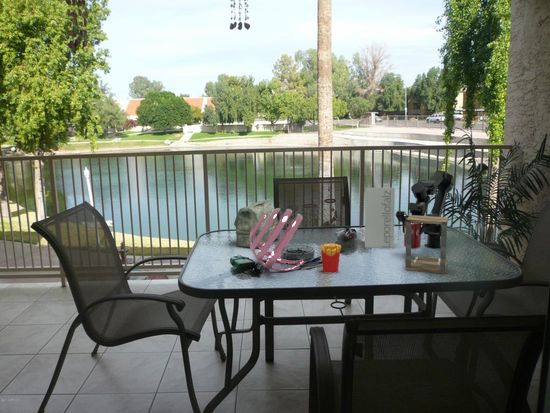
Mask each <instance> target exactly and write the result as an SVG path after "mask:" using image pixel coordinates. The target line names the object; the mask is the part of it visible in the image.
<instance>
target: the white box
mask: <svg viewBox="0 0 550 413" xmlns="http://www.w3.org/2000/svg"><path fill="white" fill-rule="evenodd" d="M395 189H396V188H395V187H365V190H364V192H365V194H364V195H365V196H364V197H365V198H364V248H370V249H394V248H395V246H394V245H395V244H394V243H395V207H396V206H395V199H396V198H395V196H396V193H395V192H396V190H395Z"/></svg>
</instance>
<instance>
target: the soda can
mask: <svg viewBox="0 0 550 413" xmlns="http://www.w3.org/2000/svg"><path fill="white" fill-rule="evenodd" d="M421 227H422V223H412V239H411V250H417V249H420V248H421V247H422V246H421V245H422V242H421V240H422V234H421V235H419V232H420V229H421ZM403 236H404V237H403V246H404V248H406V221H405V223H404V233H403Z"/></svg>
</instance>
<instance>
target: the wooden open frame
mask: <svg viewBox="0 0 550 413" xmlns="http://www.w3.org/2000/svg"><path fill="white" fill-rule="evenodd" d="M408 215H409V217H408V218H407V219H406V247H405V263H404V265H405V269H404V270H405V271H411V272H421V273H422V272H423V273H431V274H432V273H433V274H441V275H442V274H443V275H446V271H447V266H448V260H447V243H448V242H447V239H448V237H447V236H448V223H449V217H448V216H441V217H433V216H427V215H425V216H414V215H411V214H408ZM412 223H421V224H423V223H428V224H442V230H441V236H440V239H441V241H440V245H441V247H440V257H435V256H434V257H433V256H422V255H417V256H415V257H412V249H411V239H412Z"/></svg>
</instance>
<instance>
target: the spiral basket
mask: <svg viewBox="0 0 550 413" xmlns="http://www.w3.org/2000/svg"><path fill="white" fill-rule="evenodd" d="M280 211H281V208H279V207H276V208H275V210H274V211H273V213H272V214H271V216H270V217H269V219H268V221H267V222H266V224H265V225H264V227H263V228H262V230H261V231H260V233H259V234H258V236H257V237H256V236H255V233H256V231H257V230H258V228H259V226H260V225H261V223H262V222H263V220H264V219H265V217H266V216H267V214H268V212H269V211H267V212H265V213H264V214H263V215H262V217H261V218H260V220H259V221H258V223H257V224H256V226H255V228H254V227H253V228H252V229H251V231H250V236H249V239H250V247H249V248H250V251H251V253H252V254H253V256H254V258H255V260H256V262H258V263H260V265H262V266H263V267H264V268H266V269H267V270H271V271H275V272H289V271H290V272H291V271H293V270H295V269H297V268H299V267H300V266H302V265H303V264H304V262H305V259H303V258H302V259H298V260H288V259H284V258H282V257H281V255H282V254H283V252H284V251H285V249H286V247H287V246H288V245H289V243H290V241H291V240H292V238H293V236H294V235H295V233H296V232H297V230H298V228H299V227H300V224H301V223H302V221H303V219H304V218H303V215H302V214H300V213H297V214H296V215H295V217H294V218H293V219H292V221H291V222H290V224H289V225H288V226H287V228H286V229H285V230H284V233H282V235H281V237H280V238H279V240H278V242H277V243H276V245H275V246H274V248H273V250H272V251H269V250H270V248H271V247H272V245H273V244H274V243H275V241H276V240H277V239H278V238H277V236H278V235H279V236H280V233H281V232H282V230H283V229H284V227H285V225H286V223H288V222H287V221H288V220H290V217H291V215H292V213H293V209H291V208H286V210H285V211H284V212H283V214H282V215H281V216H280V218H279V220H278V223H277V224H276V226H275V227H274V229H273V230H272V232H271V233H270V235H269V237H268V238H267V240H266V241H265V243H264V244H263V245H261V244H260V241H261V239H262V237H263V236H264V234H265V233H266V231H267V230H268V228H269V227H270V225H271V224H272V222H273V220H274V219H275V217H276V216H277V217H278V215H279V212H280ZM252 237H253V239H254V242H253V244H252ZM276 238H277V239H276ZM256 247H258V248H256ZM255 249H258V250H259V251H258V253H256V251H255ZM265 256H267V257H266V258H267V260H266V261H265V262H264V261H263V258H264V257H265ZM276 262H277V263H282V264H286V263H288V264H289V265H291V264H292V265H293V264H297V265H295V266H292V267H290V268H281V269H280V268H276V267H274V265H275V264H276Z"/></svg>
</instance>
